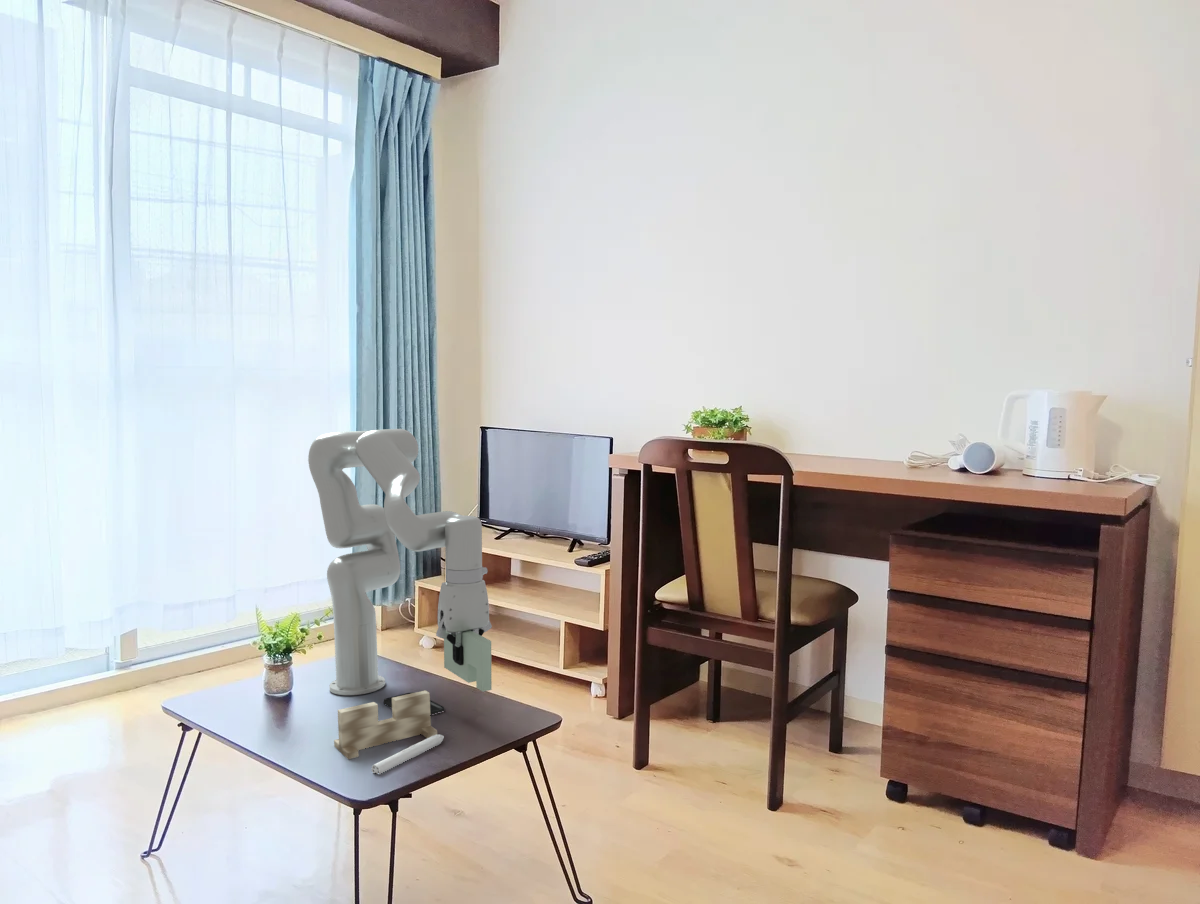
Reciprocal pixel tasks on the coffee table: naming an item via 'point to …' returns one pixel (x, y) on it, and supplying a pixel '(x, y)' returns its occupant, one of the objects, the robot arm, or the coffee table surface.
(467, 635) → the mint green slab
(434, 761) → the coffee table surface
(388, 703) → the phone
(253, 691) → the coffee table surface
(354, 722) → the slotted wooden stand
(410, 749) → the marker
